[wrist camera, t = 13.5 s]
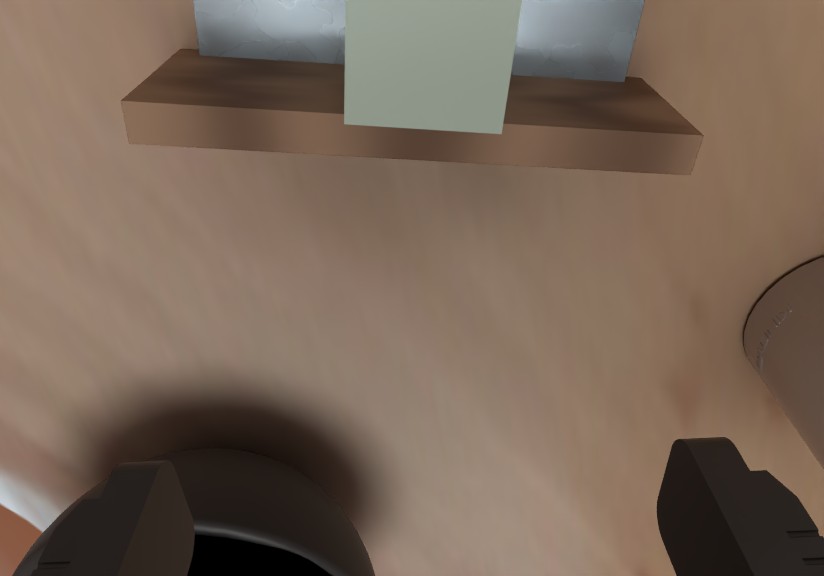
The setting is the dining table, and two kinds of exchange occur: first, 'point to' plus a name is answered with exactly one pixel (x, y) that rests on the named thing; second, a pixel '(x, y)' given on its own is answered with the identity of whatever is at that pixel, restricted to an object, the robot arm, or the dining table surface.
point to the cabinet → (429, 63)
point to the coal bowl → (251, 519)
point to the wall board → (328, 135)
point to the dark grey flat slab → (325, 34)
